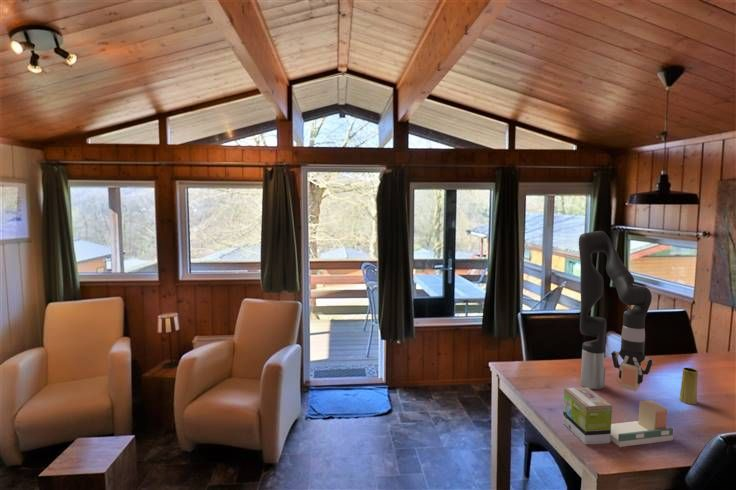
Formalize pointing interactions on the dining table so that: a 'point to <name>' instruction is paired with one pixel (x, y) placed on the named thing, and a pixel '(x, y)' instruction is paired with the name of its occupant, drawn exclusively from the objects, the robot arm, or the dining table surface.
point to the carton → (629, 377)
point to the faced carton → (652, 415)
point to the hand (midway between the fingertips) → (630, 381)
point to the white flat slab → (638, 434)
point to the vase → (689, 386)
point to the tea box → (587, 415)
